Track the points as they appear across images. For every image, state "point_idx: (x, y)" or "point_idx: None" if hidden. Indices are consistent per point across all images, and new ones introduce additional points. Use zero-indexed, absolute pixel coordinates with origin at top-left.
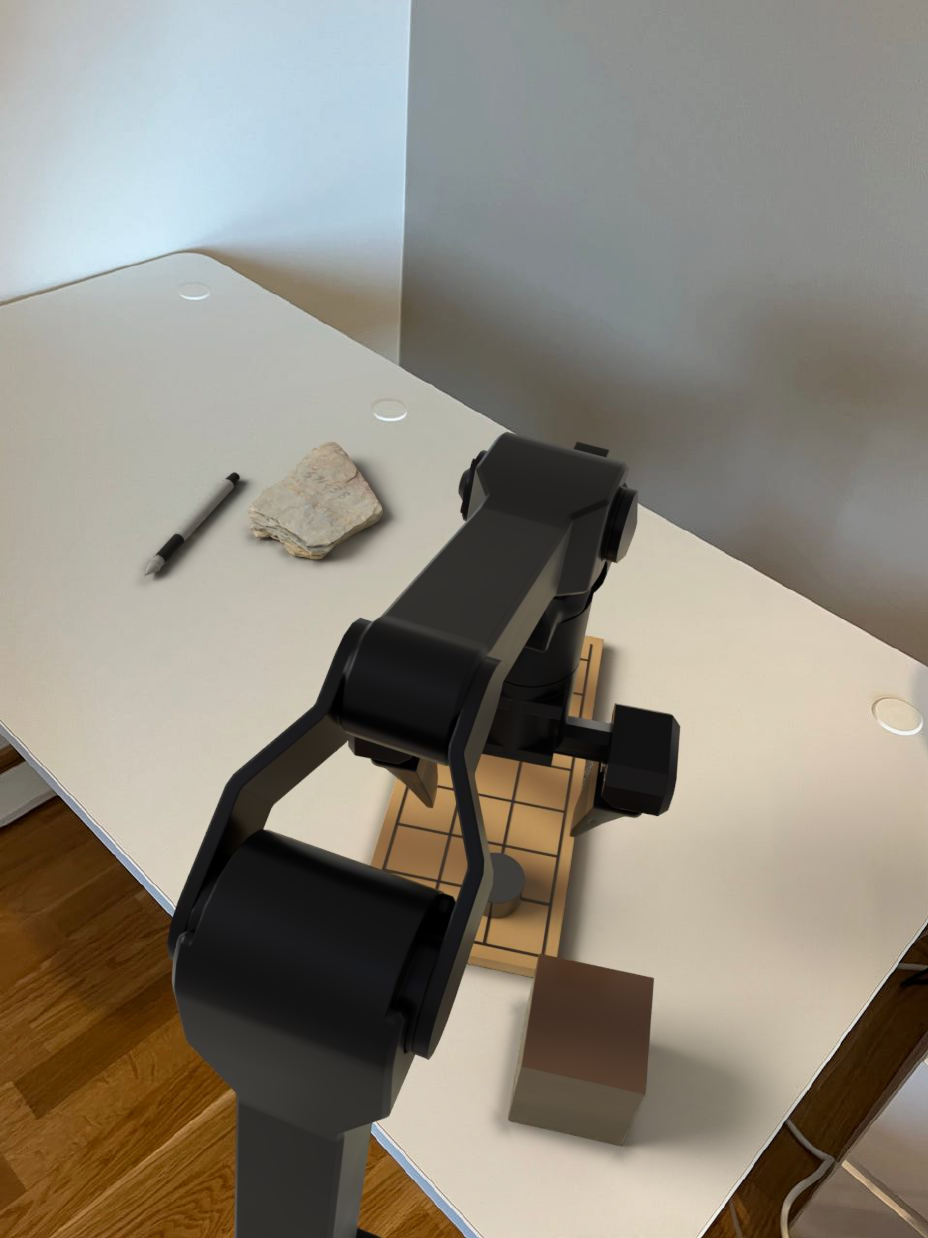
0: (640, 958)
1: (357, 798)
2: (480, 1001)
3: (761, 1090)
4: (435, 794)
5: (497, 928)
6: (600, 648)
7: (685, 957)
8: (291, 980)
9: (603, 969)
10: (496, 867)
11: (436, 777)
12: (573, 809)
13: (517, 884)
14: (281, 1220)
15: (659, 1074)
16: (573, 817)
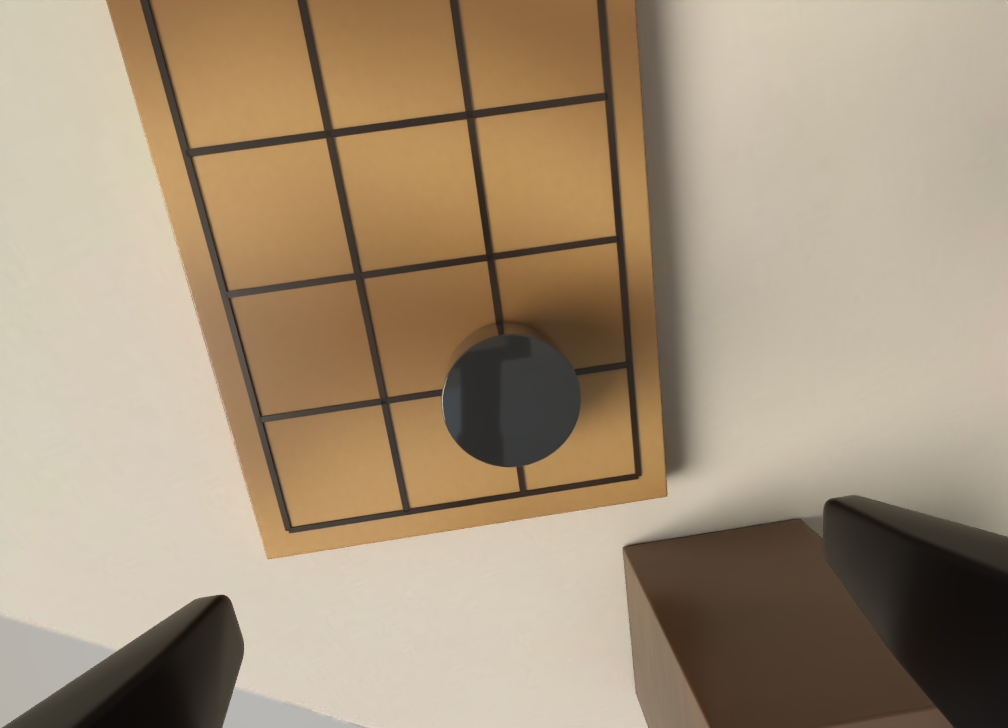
0: (805, 378)
1: (105, 231)
2: (544, 555)
3: (1005, 521)
4: (213, 649)
5: None
6: None
7: (888, 344)
8: None
9: (880, 723)
10: (503, 378)
11: (138, 721)
12: (627, 78)
13: (565, 403)
14: None
15: None
16: (904, 603)
